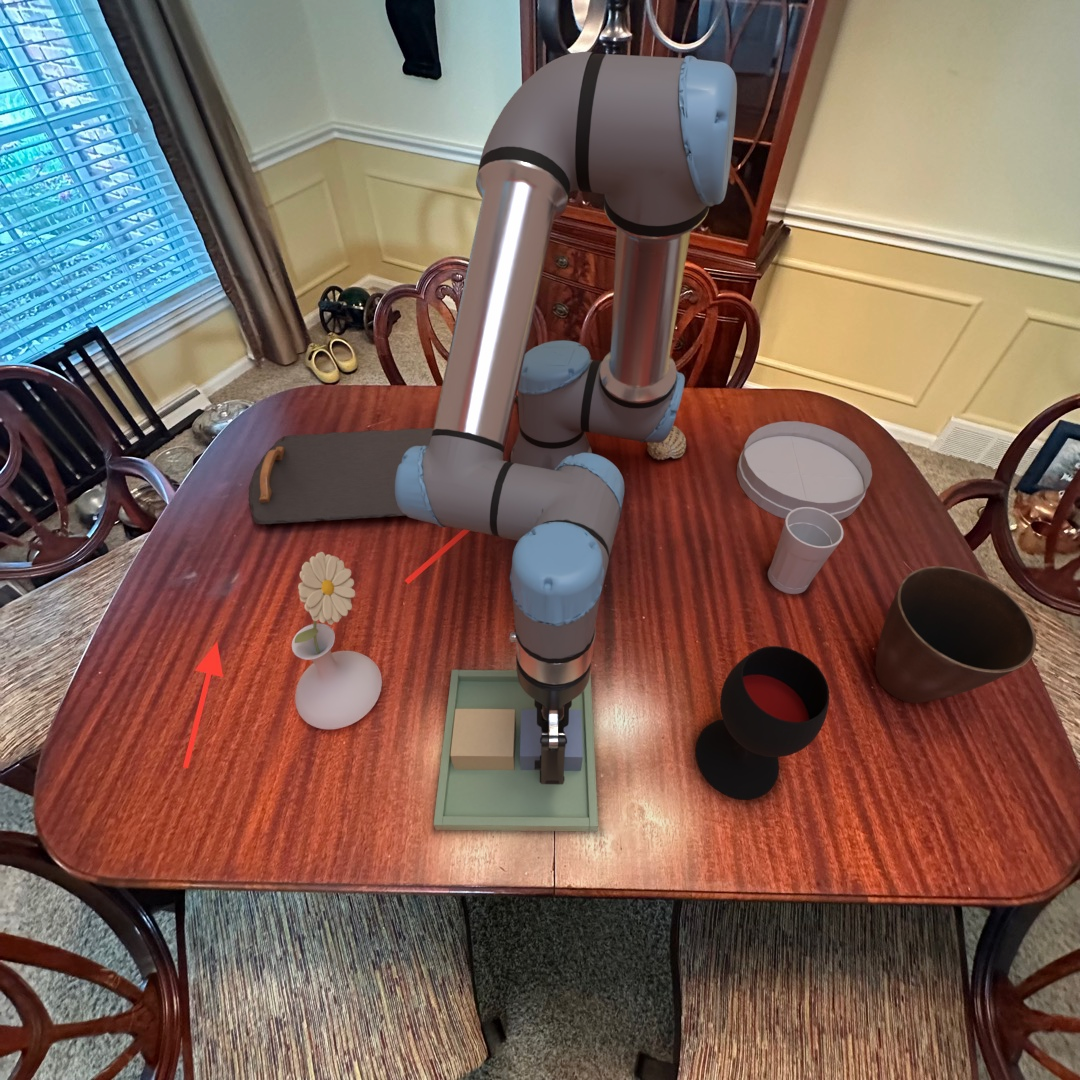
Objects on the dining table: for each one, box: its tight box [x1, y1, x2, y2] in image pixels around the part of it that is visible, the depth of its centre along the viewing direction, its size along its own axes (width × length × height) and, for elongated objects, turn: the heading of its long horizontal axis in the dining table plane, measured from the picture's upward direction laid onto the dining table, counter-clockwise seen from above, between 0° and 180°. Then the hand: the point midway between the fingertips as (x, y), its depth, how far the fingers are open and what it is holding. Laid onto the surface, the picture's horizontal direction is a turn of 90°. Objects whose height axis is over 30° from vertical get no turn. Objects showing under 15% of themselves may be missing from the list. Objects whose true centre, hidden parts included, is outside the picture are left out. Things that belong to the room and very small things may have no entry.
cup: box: [767, 507, 844, 595], centre depth 91 cm, size 8×8×12 cm
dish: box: [736, 420, 873, 522], centre depth 108 cm, size 22×22×5 cm
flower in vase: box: [291, 551, 383, 730], centre depth 73 cm, size 13×11×25 cm
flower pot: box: [875, 565, 1037, 704], centre depth 77 cm, size 15×15×16 cm
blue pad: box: [520, 709, 583, 771], centre depth 75 cm, size 8×6×4 cm
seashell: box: [646, 425, 687, 461], centre depth 114 cm, size 8×6×10 cm
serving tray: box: [248, 427, 433, 528], centre depth 107 cm, size 39×23×6 cm, turn 95°
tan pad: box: [450, 709, 516, 770], centre depth 75 cm, size 8×6×4 cm
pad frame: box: [433, 669, 599, 832], centre depth 76 cm, size 19×20×2 cm
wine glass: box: [695, 645, 830, 801], centre depth 69 cm, size 10×10×20 cm
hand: (550, 747), depth 76 cm, fingers open, 7 cm apart
